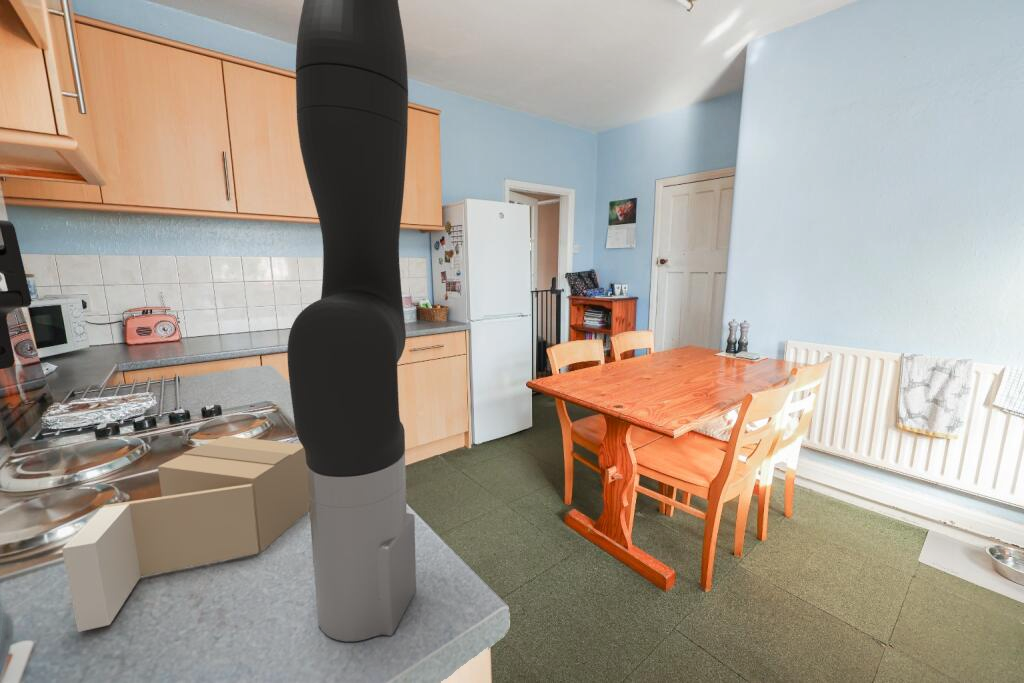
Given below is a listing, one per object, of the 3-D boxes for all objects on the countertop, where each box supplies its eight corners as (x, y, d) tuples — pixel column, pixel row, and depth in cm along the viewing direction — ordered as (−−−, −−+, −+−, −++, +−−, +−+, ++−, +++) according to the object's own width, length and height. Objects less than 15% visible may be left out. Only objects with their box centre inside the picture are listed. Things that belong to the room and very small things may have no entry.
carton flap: (258, 550, 53) (252, 483, 51) (245, 594, 46) (237, 518, 44) (116, 578, 48) (104, 505, 46) (78, 632, 41) (62, 548, 39)
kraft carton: (312, 508, 63) (307, 443, 61) (260, 552, 53) (253, 477, 52) (230, 496, 66) (223, 434, 64) (167, 537, 56) (157, 464, 54)
